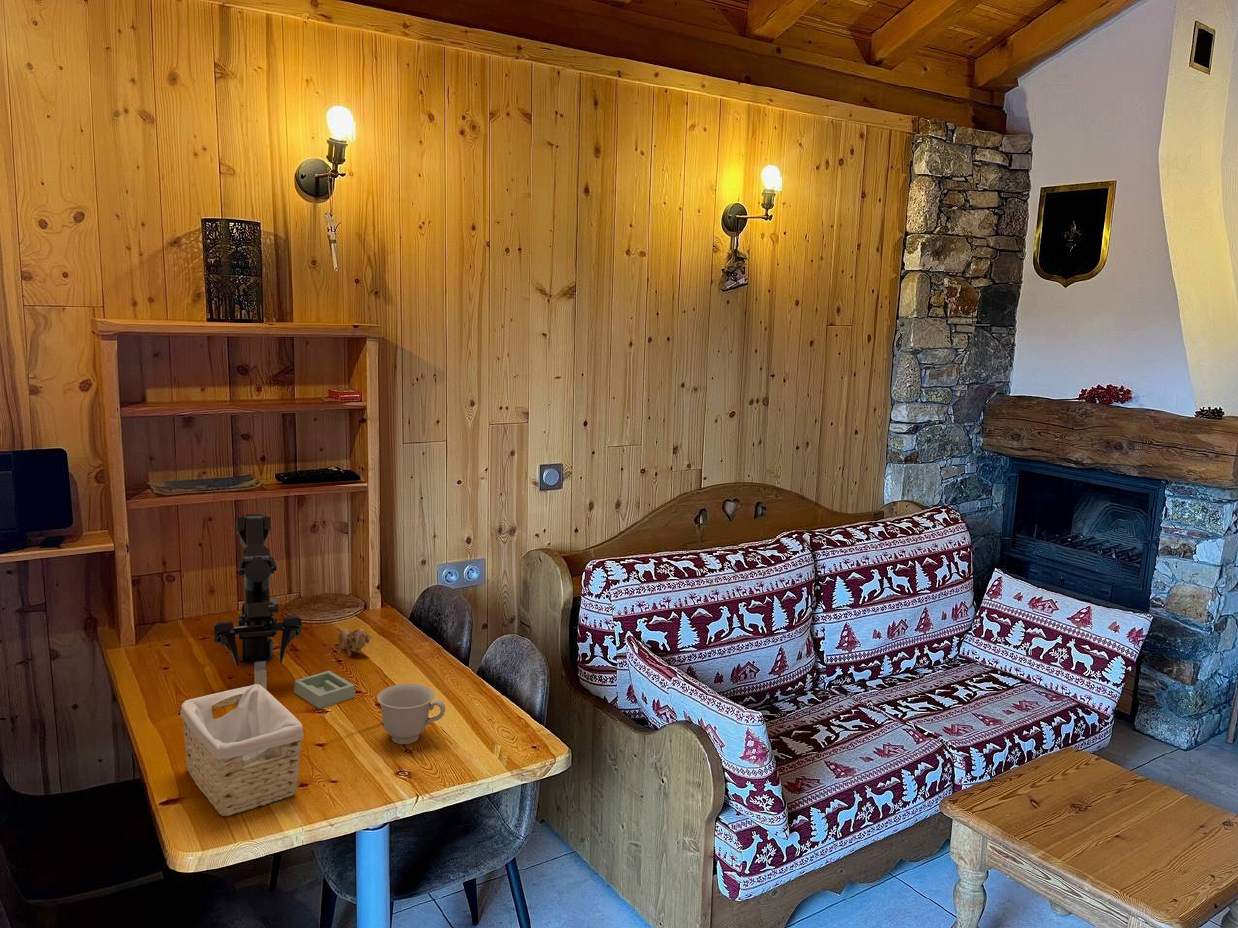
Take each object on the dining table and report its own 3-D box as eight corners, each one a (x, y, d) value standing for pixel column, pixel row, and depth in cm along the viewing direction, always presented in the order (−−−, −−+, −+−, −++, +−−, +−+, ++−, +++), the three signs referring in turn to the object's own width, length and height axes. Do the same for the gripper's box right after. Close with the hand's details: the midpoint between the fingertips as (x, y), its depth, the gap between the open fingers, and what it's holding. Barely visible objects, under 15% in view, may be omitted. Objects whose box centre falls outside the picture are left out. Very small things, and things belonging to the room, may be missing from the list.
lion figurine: (373, 661, 236) (374, 629, 235) (355, 667, 232) (355, 633, 231) (343, 645, 246) (343, 613, 244) (325, 650, 242) (325, 617, 240)
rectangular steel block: (254, 707, 206) (254, 661, 204) (266, 706, 207) (265, 660, 205) (255, 717, 201) (254, 670, 199) (266, 716, 202) (266, 669, 200)
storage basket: (179, 768, 180) (177, 699, 177) (262, 746, 191) (261, 680, 188) (218, 825, 162) (216, 748, 160) (306, 797, 173) (306, 725, 170)
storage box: (294, 696, 213) (294, 680, 212) (329, 685, 219) (329, 670, 219) (319, 712, 206) (319, 696, 205) (354, 701, 212) (354, 685, 211)
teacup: (432, 757, 190) (433, 712, 188) (366, 746, 193) (367, 702, 191) (454, 731, 202) (455, 689, 200) (391, 721, 204) (392, 680, 203)
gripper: (213, 589, 205) (213, 654, 197) (300, 583, 212) (304, 645, 204) (214, 610, 213) (215, 673, 206) (298, 604, 221) (302, 664, 213)
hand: (259, 663), depth 207 cm, fingers open, 9 cm apart
